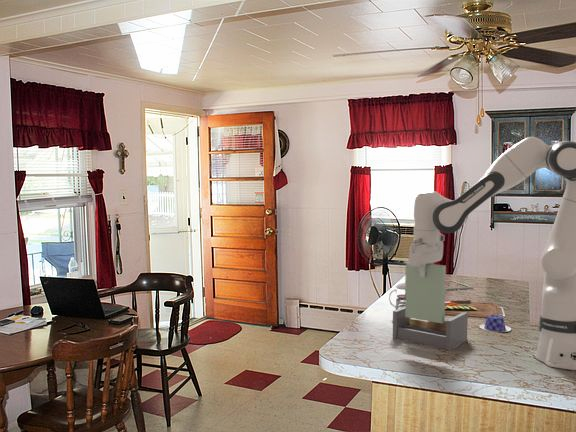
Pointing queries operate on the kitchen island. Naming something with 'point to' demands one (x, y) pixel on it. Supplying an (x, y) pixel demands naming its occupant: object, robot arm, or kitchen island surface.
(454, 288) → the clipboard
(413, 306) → the tall panel
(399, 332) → the rack
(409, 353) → the kitchen island surface
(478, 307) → the chopping board
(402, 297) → the french press
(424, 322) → the offcut oak
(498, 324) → the pudding
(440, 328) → the offcut walnut
